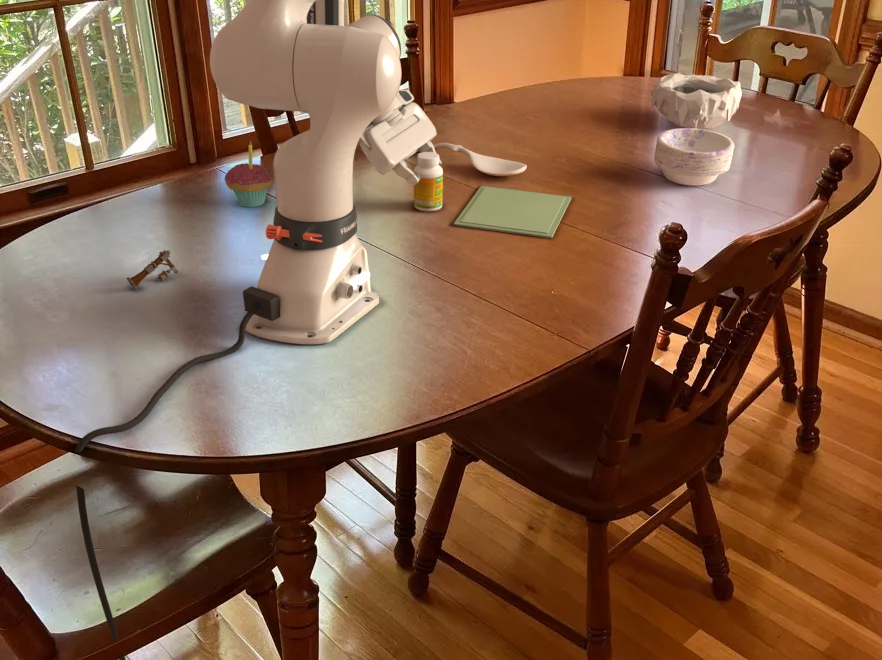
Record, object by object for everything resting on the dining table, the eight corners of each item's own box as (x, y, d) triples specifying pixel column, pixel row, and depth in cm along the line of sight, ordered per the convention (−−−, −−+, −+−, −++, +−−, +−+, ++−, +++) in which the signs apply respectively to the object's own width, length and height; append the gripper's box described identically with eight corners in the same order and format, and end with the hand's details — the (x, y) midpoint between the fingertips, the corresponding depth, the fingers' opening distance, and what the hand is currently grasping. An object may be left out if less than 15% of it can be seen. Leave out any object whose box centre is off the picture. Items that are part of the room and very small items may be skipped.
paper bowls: (696, 197, 179) (704, 157, 174) (636, 175, 188) (641, 136, 183) (742, 180, 187) (750, 141, 182) (681, 160, 196) (688, 122, 191)
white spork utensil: (413, 141, 203) (412, 125, 200) (534, 174, 187) (535, 158, 185) (386, 151, 197) (386, 135, 195) (509, 187, 181) (510, 169, 179)
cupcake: (283, 202, 173) (277, 138, 165) (246, 215, 167) (238, 149, 160) (255, 190, 177) (248, 127, 170) (218, 202, 172) (209, 137, 165)
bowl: (746, 141, 208) (755, 95, 202) (655, 138, 208) (662, 92, 202) (725, 113, 224) (733, 70, 218) (641, 111, 224) (647, 68, 218)
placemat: (551, 238, 162) (551, 235, 162) (453, 225, 166) (453, 222, 165) (571, 198, 177) (571, 195, 177) (481, 187, 181) (481, 184, 181)
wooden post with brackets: (184, 269, 147) (170, 248, 143) (146, 301, 145) (130, 280, 141) (179, 266, 148) (164, 245, 144) (140, 297, 146) (124, 276, 142)
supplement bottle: (439, 213, 170) (439, 161, 164) (410, 210, 171) (410, 158, 165) (444, 202, 174) (445, 151, 168) (417, 200, 175) (417, 149, 169)
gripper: (362, 118, 156) (415, 183, 159) (413, 88, 172) (460, 148, 174) (341, 140, 160) (392, 204, 163) (392, 109, 176) (438, 167, 179)
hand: (427, 174), depth 169 cm, fingers open, 8 cm apart
